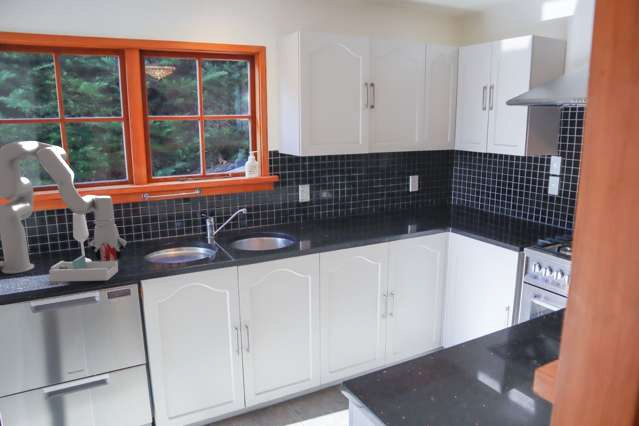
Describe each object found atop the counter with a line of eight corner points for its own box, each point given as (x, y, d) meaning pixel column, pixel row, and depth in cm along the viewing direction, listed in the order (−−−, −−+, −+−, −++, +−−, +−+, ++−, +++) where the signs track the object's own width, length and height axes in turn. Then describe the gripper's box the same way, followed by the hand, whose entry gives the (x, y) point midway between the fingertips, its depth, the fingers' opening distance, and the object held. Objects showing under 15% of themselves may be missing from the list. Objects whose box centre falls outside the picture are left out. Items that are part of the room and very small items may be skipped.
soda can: (113, 264, 222) (111, 237, 219) (121, 267, 217) (118, 240, 215) (99, 268, 217) (96, 241, 214) (106, 271, 212) (103, 243, 210)
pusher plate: (74, 276, 201) (72, 261, 199) (83, 270, 209) (81, 255, 207) (77, 276, 201) (75, 261, 199) (86, 270, 209) (84, 255, 207)
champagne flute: (84, 263, 223) (78, 214, 218) (73, 262, 225) (67, 214, 220) (94, 259, 229) (89, 212, 225) (83, 258, 231) (78, 211, 227)
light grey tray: (50, 281, 199) (48, 268, 198) (64, 272, 211) (63, 259, 209) (107, 280, 200) (106, 266, 198) (118, 271, 211) (117, 258, 210)
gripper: (82, 225, 209) (86, 262, 212) (121, 224, 209) (125, 261, 213) (89, 221, 216) (94, 257, 220) (127, 220, 217) (131, 256, 220)
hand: (109, 259), depth 216 cm, fingers open, 8 cm apart
